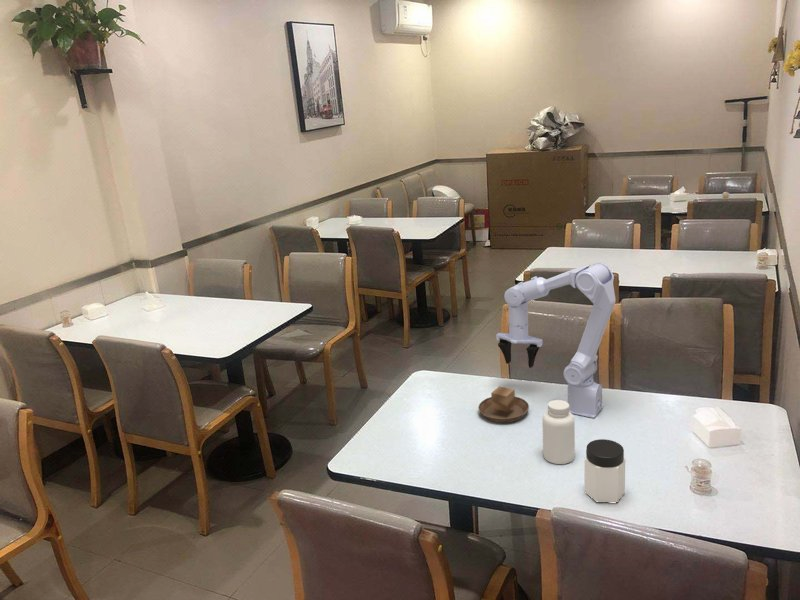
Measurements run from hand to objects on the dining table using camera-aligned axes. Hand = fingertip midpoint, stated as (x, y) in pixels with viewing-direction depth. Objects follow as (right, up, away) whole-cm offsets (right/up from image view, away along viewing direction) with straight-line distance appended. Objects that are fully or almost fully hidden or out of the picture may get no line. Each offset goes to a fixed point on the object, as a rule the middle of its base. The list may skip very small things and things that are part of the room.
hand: (519, 364), depth 196 cm
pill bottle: (+4, -21, -33) cm, 39 cm away
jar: (+10, -25, -49) cm, 56 cm away
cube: (-7, -11, -9) cm, 16 cm away
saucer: (-6, -14, -8) cm, 18 cm away
